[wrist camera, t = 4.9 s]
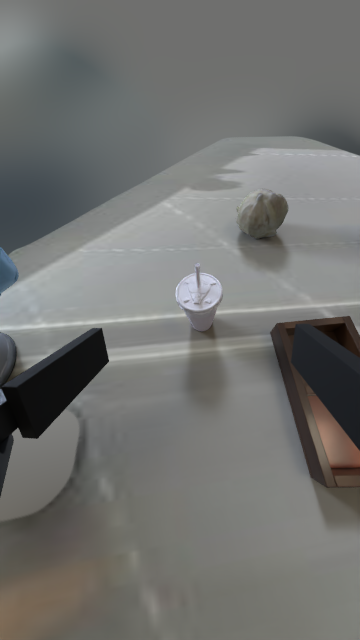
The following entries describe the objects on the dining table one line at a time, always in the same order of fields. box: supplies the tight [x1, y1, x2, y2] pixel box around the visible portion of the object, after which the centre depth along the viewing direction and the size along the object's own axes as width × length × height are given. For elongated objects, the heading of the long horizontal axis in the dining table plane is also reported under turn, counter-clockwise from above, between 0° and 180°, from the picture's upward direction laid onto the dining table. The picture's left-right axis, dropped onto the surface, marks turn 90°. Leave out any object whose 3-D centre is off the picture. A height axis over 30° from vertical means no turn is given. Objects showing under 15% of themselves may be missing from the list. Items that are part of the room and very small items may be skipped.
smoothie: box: [176, 263, 223, 331], centre depth 28 cm, size 6×6×14 cm
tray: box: [270, 316, 360, 487], centre depth 25 cm, size 10×19×4 cm, turn 3°
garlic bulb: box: [237, 189, 288, 239], centre depth 38 cm, size 9×8×10 cm
